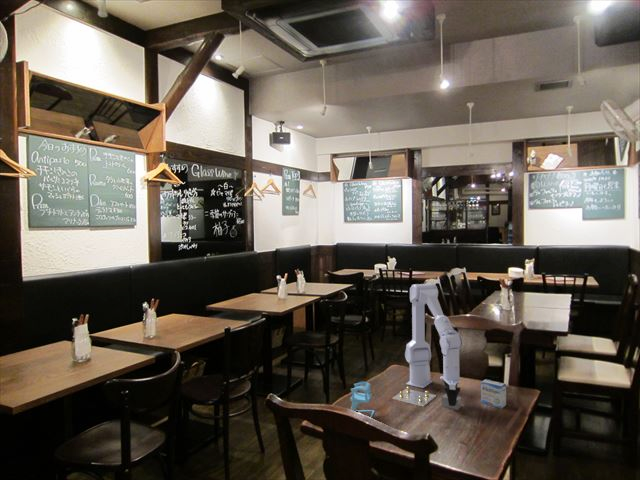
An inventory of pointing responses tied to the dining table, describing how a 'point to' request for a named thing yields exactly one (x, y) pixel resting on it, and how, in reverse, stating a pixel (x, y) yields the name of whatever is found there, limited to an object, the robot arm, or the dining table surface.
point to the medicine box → (493, 393)
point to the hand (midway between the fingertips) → (451, 402)
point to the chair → (361, 396)
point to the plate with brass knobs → (414, 397)
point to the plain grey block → (446, 403)
